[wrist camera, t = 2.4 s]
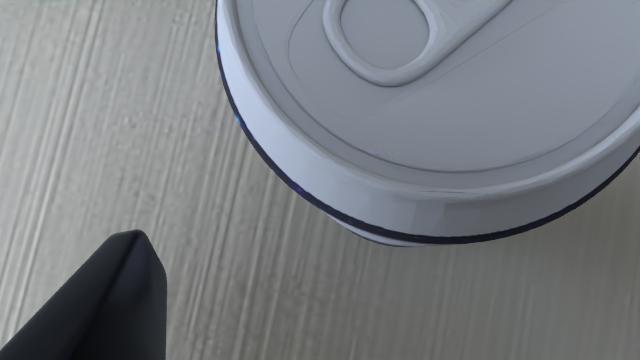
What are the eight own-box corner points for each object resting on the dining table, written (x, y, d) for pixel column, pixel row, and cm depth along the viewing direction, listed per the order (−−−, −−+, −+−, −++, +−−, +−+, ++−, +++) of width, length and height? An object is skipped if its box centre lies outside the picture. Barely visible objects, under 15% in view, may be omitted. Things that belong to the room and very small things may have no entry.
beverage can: (536, 162, 17) (896, -29, 5) (392, 286, 17) (430, 369, 5) (410, 27, 18) (477, -395, 6) (272, 145, 18) (75, -56, 6)
